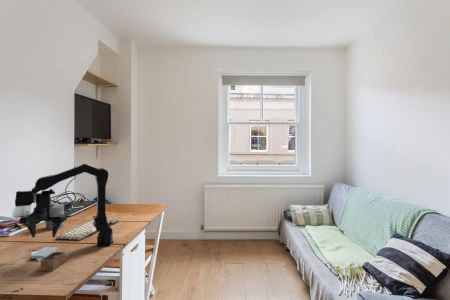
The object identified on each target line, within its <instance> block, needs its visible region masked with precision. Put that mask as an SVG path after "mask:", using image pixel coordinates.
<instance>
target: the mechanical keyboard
mask: <svg viewBox="0 0 450 300" xmlns="http://www.w3.org/2000/svg"><path fill="white" fill-rule="evenodd" d="M93 222H94V219H93V218H92V219H90V220H87V221H85V222H82V223H80V224H78V225H76V226H74V227H71V228H70V229H68V230H66V231H64V232H61V233H59V234H56V236H55V237H56V239H55V241H66V240H67V241H69V242H70V241H75V242H76V241H82V240H84V239H85V240H84V242H85V241H87V239H88V238H89V237H92V236H93V235H95V234H98V233H99V231H97V230H96V228H95V227H94V225H93ZM107 222H108V225H110V227H111V228H112V226H114V225H116V224H118V223H119V222H120V221H119V219H118V218H111V217H110V218H107ZM87 237H88V238H87ZM67 241H66V242H67Z"/></svg>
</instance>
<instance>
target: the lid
mask: <svg viewBox="0 0 450 300" xmlns="http://www.w3.org/2000/svg"><path fill="white" fill-rule="evenodd" d="M58 250H59V247H58V246H44V247H42V248H40V249H39V250H36V251H37V252H35V251H34V252H35V253H33V254H32V255H31V254H30V255H29V259H35V258H45V257H47V256H48V255H50V254H51V253H53V252H57V251H58Z"/></svg>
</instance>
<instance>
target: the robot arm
mask: <svg viewBox="0 0 450 300" xmlns="http://www.w3.org/2000/svg"><path fill="white" fill-rule="evenodd" d="M83 173H85V174H89V175H92V176H94V177H95V178H94V179H95V183H96V188H97V189H96V192H97V193H96V196H97V197H96V198H97V199H96V215H93V216H92V219H94V222H93V225H94V227H95V228H96V230H97V231H99V232H98V233H97V236H96V237H97V238H96V240H97V241H96V243H97V245H96V247H110V246H111V245H112V244H113V243H114V242H115V240H113V239H114V238H113V233H114V232H113V231H114V230H113V228H112V226H111V227H110V225H108V222H107V219H108V217H107V214H106V190H107V184H108V180H109V171H108V170H107V169H106V168H104V167H103V168H102V167H99V168H97V167H94V166H91V165H88V164H87V163H82V164H80V165H78V166H75V167H73V168H70V169H68V170H65V171H62V172H59V173H56V174H51V175H46V176H41V177H39V178H37V180H36V181H35V183H34V185H35V186H34V187H33V188H32V189H31V190H25V191H23V190H22V191H21V190H18V191H15V200H14V206H15V207H27V206H29V207H30V206H32V204H34V203H35V207H33V211H32V212H31V213H30V214H26V215H23V216H20V218H19V219H18V223H19V225H20V224H21V225H22V226H24V227H26V228H27V229H28V231H29V233H30V235H31V237H32V238H35V236H36V232H37V231H36V230H37V225H39V224H40V223H41V222H46V221H51V222H52V224H51V225H52V230H51V231H52V233H51V234H52V238H55V237H56V236H57V233H58V230H59V229H58V228H59V227H60V225H61V223H63V222H64V223H65V222H66V221H67V220H68V216H67V215H66V214H65V213H64V214H58V215H56V216H54V217H51V216H52V213H51V207H52V205H53V204H51V201H52V200H51V199H52V198H51V197H52V196H51V195H55V194H56V191H55V190H54V189H53V188H51V187H54V186H55V185H57V184H58V183H60V182H62V181H64V180H68V179H70V178H73V177H75V176H79V175H81V174H83Z"/></svg>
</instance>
